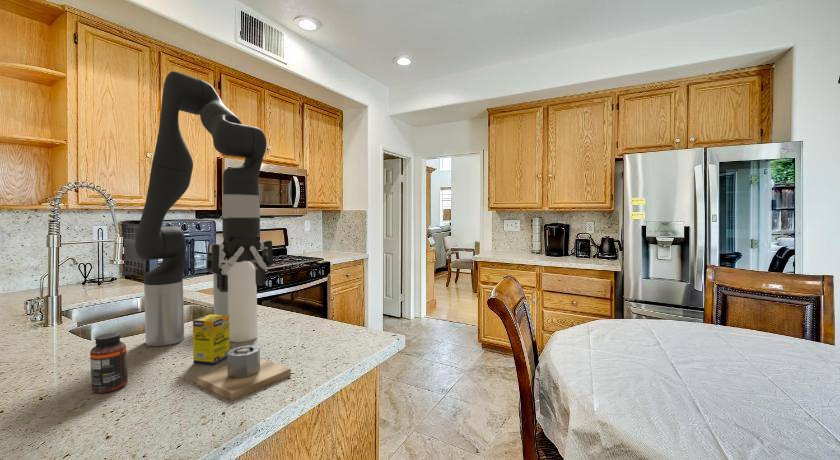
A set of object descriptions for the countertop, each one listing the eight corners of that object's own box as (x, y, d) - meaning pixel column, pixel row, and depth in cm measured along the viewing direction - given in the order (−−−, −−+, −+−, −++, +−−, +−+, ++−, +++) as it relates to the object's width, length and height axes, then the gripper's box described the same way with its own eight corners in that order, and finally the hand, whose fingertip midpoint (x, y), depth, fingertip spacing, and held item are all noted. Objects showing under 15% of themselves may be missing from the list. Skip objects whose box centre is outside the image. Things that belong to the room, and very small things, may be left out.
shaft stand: (195, 383, 82) (194, 353, 82) (254, 362, 94) (253, 336, 94) (231, 400, 75) (231, 368, 74) (290, 375, 86) (290, 347, 86)
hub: (222, 374, 83) (222, 351, 83) (248, 364, 89) (248, 343, 88) (239, 381, 80) (238, 357, 80) (265, 370, 85) (264, 349, 85)
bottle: (231, 344, 106) (229, 238, 105) (225, 337, 112) (223, 237, 111) (261, 338, 111) (259, 237, 110) (253, 332, 118) (252, 236, 116)
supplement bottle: (120, 379, 84) (118, 329, 84) (133, 385, 81) (131, 333, 81) (86, 389, 79) (84, 336, 79) (98, 397, 76) (96, 341, 76)
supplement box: (213, 365, 92) (212, 321, 91) (192, 363, 93) (191, 319, 93) (230, 356, 98) (229, 314, 97) (210, 354, 99) (209, 313, 98)
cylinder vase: (228, 324, 125) (226, 249, 124) (206, 319, 131) (205, 248, 130) (261, 316, 136) (259, 247, 135) (239, 311, 142) (238, 245, 141)
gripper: (260, 215, 91) (260, 281, 92) (199, 215, 79) (200, 291, 80) (279, 215, 87) (280, 285, 88) (218, 216, 75) (219, 296, 76)
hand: (242, 288), depth 84 cm, fingers open, 8 cm apart
